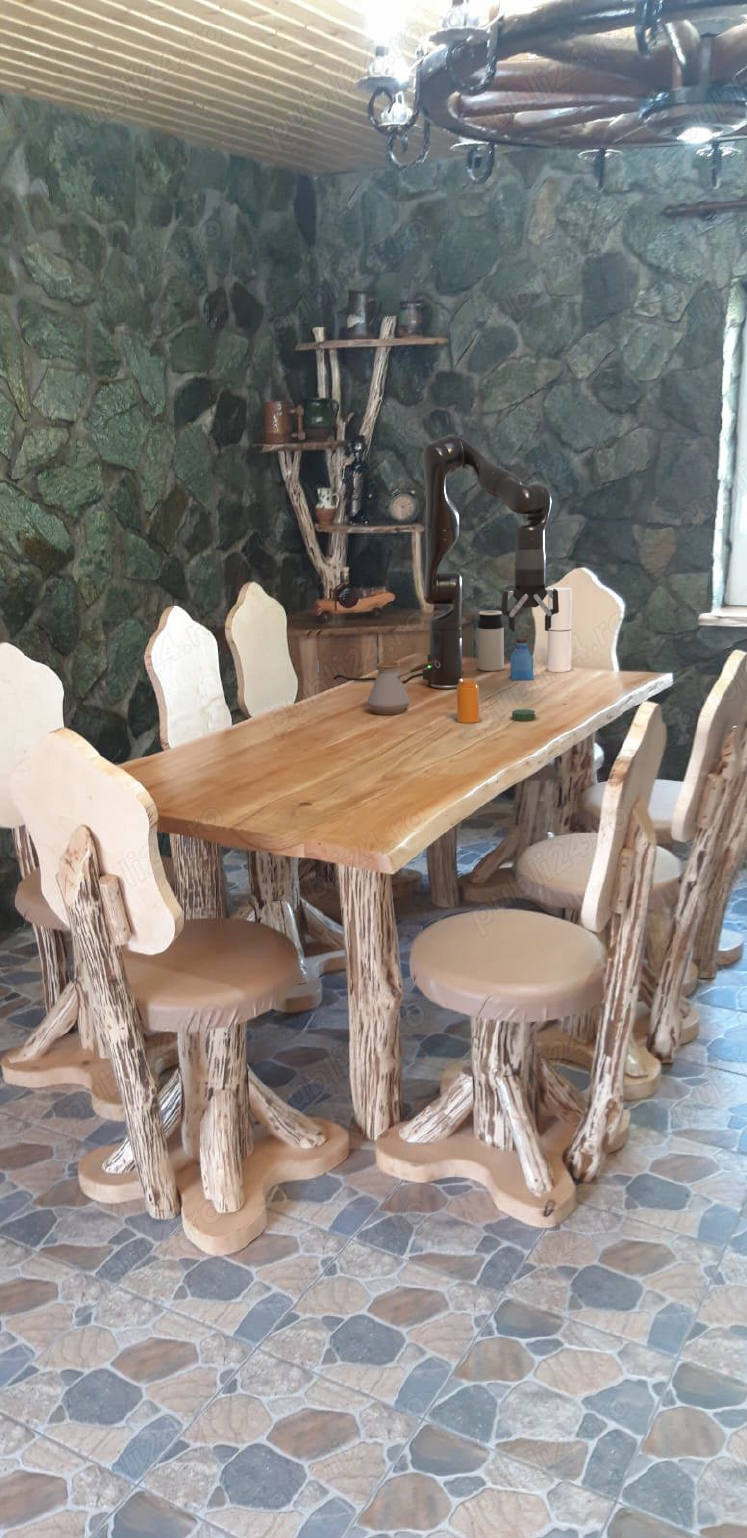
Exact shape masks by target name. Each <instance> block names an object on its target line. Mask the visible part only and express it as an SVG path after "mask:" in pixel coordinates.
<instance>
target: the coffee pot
mask: <svg viewBox="0 0 747 1538" xmlns="http://www.w3.org/2000/svg"><path fill="white" fill-rule="evenodd" d="M437 662H438V661H437V660H434V661H432V662H428V661H427V663H422V664H420V665H417V666H415V667H413V668H411V669H409V670H407V671H404V672H402V673H399V667H400V666H401V664H400V663H399V662H394V661H387V662H386V661H385V662H378V663H376V664H375V667H376V669H377V671H378V672H377V675H376V677H375V678H376V680H374V682H373V685H372V687H371V688H372V689H371V690H370V693H369V696H368V698H367V705H368V707H369V709H370V710H372V711H374V714H377V715H382V716H383V715H385V716H386V715H387V716H389V715H399V714H402V713H404V711H405V710H406V709H407V708H408V707H409V706H410V705H411V698H410V697H409V694H408V692H407V689H406V688H405V685H404V683H402V681H403V680H402V678H403V677H404V676H407V675H409V674H412V673H416V672H418V671H423V670H424V669H427V668H428V666H432V664H435V663H437ZM439 665H440V663H439ZM435 666H436V664H435ZM436 667H437V666H436ZM439 667H440V666H439ZM439 667H437V668H439Z"/></svg>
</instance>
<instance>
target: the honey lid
mask: <svg viewBox="0 0 747 1538" xmlns="http://www.w3.org/2000/svg"><path fill="white" fill-rule="evenodd" d="M511 719H512V720H513V721H518V722H531V721H534V720H536V711H535V710H533V709H525V708H523V709H522V708H521V709H515V710H512V711H511Z"/></svg>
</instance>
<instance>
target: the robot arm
mask: <svg viewBox="0 0 747 1538" xmlns="http://www.w3.org/2000/svg"><path fill="white" fill-rule="evenodd" d="M422 469H423V479H424V490H425V523H424V524H425V525H424V527H425V528H424V530H425V566H424V579H423V596H424V600H425V602H426V604H428V605H432V606H435V605H437V606H439V605H440V606H441V605H443V606H444V605H450V606H449V608H447V610H445V611H444V612H443V613H440V614H438V615H434V616H433V617H431V618H430V619H429V649H430V650H429V651H430V653H428V654H427V663H428V662H432V661H434V660H437V661H438V662H437V663H435V664H436V666H437V667H439V666H440V667H439V668H437V667H436V666H435V664H432V666H428V667H426V668H424V669H422V672H421V673H416V674H413V675H411V676H409V677H408V678H406V679H405V680H402V683H403V684H407V683H409V682H410V681H411V680H412V679H414V678H418V677H422V681H427V687H428V688H433V689H441V690H449V689H450V690H451V689H457V686H458V685H459V683H458V682H459V679H463V676H464V670H463V633H462V632H463V630H462V629H463V628H462V625H463V624H462V623H463V622H462V601H463V600H462V599H463V598H462V597H463V579H462V575H461V573H460V572H458V571H438V570H439V568H440V566H441V563H442V562H443V560H444V559H445V558H446V557H447V555H448V554H449V552H450V551H451V550H452V548H453V547H454V546H455V544H456V543H457V541H458V538H459V535H460V534H459V533H460V514H459V511H458V509H457V506H456V505H455V504H454V502H453V501H452V500H451V499H450V497H449V496H448V494H447V492H446V479H447V478H446V477H447V476H448V475H449V474H452V473H454V472H456V471H459V470H460V469H466V470H468V471H471V472H472V473H473V474H474V476H475V480H476V482H477V484H478V486H479V487H480V488H481V489H482V490H483V491H484V492H486V493H487V494H489V495H491V496H493V497H495V498H496V499H498V500H500V501H501V502H502V503H503V504H504V505H505V506H506V507H507V508H508V509H509V510H510V511H511V512H513V513H516V514H518V515H527V516H526V519H525V522H523V523H521V524H519V525H518V526H517V527H516V530H515V556H514V589H513V590H507V589H503V590H502V592H501V594H502V595H501V609H500V611H501V612H502V616H503V615H504V616H507V617H508V629H509V630H510V631H511V633H514V632H515V631H516V628H515V627H516V624H515V623H516V620H515V619H516V617H515V615H516V614H517V613H518V611H519V610H520V609H521V608H524V609H525V608H538V607H540V608H541V609H542V610H543V612H544V613H545V615H544V631H545V632H548V630H549V629H550V628H551V616H552V615H553V614H556V613H558V612H559V604H558V591H557V590H556V589H552V590H548V589H546V551H545V531H546V528H547V527H546V526H547V524H548V519H549V516H550V513H551V512H550V511H551V507H552V496H551V493H550V490H549V489H548V487H547V486H546V485H544V484H540V483H535V484H534V483H533V484H522V482H521V480H520V477H518V475H516V474H514V473H513V472H511V471H509V470H507V469H505V468H503V467H501V466H499V465H497V464H496V463H494V462H493V461H491V460H489V459H488V458H487V457H486V456H485V455H483V454H482V452H479V451H478V450H477V449H476V448H475V447H473V446H472V444H470V443H469V442H468V441H466V440H465V439H464V438H462V437H460V436H459V435H456V434H448V435H444V436H443V437H440V438H438V439H435V440H433V441H431V442H429V443H428V444H426V445H425V447H424V448H423V451H422ZM548 595H549V597H550V598H552V603H553V609H550V610H549V609H548V605H546V604H545V602H544V600H545V598H546V597H547V596H548ZM512 596H513V597H514V599H515V600H516V601H515V602H514V604H513V605H512V607H511V608H510V610H508V602H509V601H510V600H511V598H512ZM508 600H509V601H508ZM439 663H440V665H439ZM338 678H342V679H344V680H347V681H355V682H356V681H357V682H358V681H375V680H376V677H348V676H346V675H343V674H336V675H335V676H334V677H333V678H332V680H337V679H338Z"/></svg>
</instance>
